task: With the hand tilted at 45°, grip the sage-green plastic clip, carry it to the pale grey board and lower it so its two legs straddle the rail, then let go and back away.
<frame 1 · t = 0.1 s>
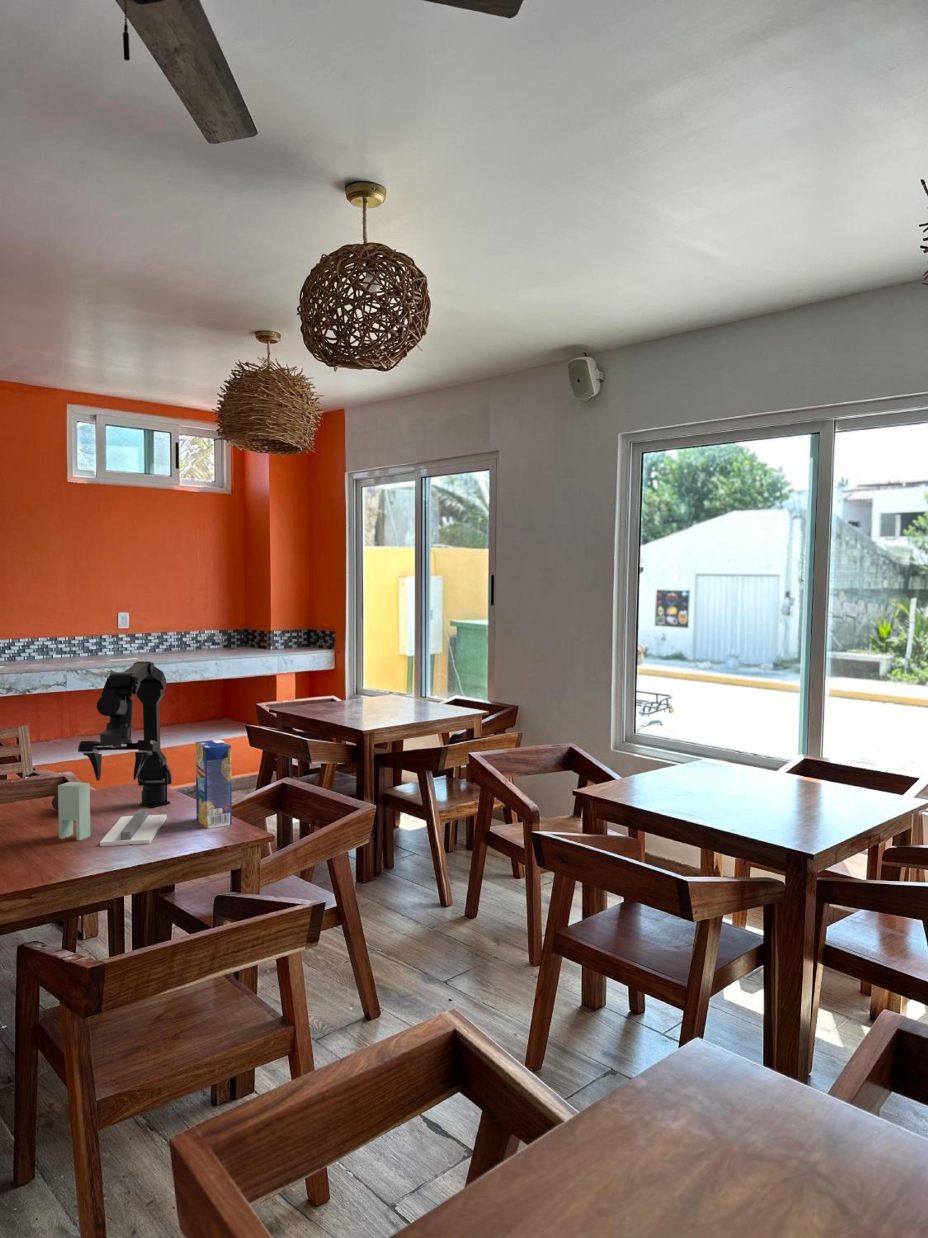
hand: (116, 780, 214), 15 cm above the table, tool pointing down, fingers open, 9 cm apart
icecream: (66, 812, 241), on the table
clip: (74, 837, 216), on the table
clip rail: (135, 831, 221), on the table
beverage box: (214, 822, 230), on the table
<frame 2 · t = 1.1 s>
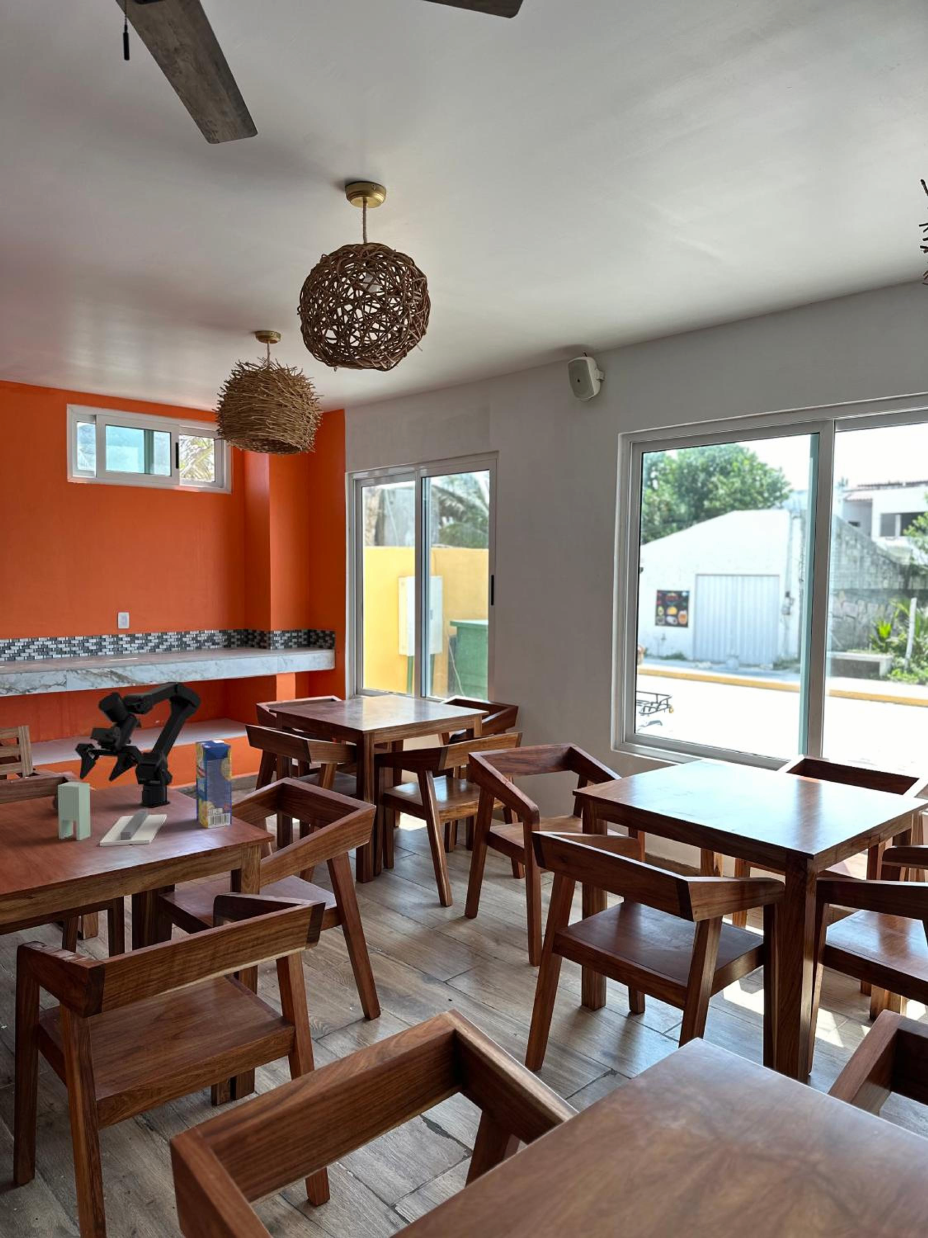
hand: (95, 779, 223), 13 cm above the table, tool tilted 45°, fingers open, 9 cm apart
nothing on the table moved.
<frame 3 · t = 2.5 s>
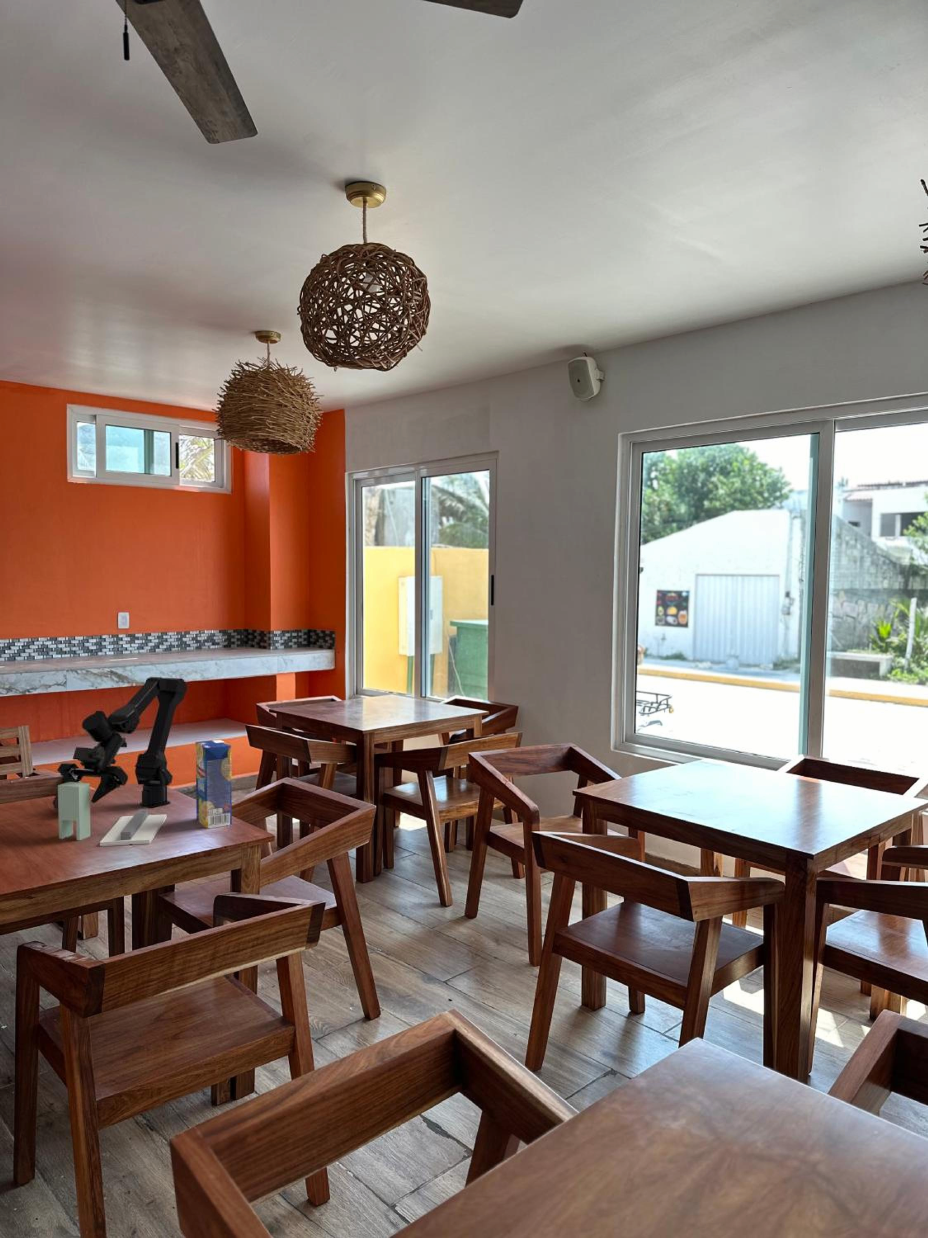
hand: (77, 801, 217), 9 cm above the table, tool tilted 45°, fingers open, 9 cm apart
nothing on the table moved.
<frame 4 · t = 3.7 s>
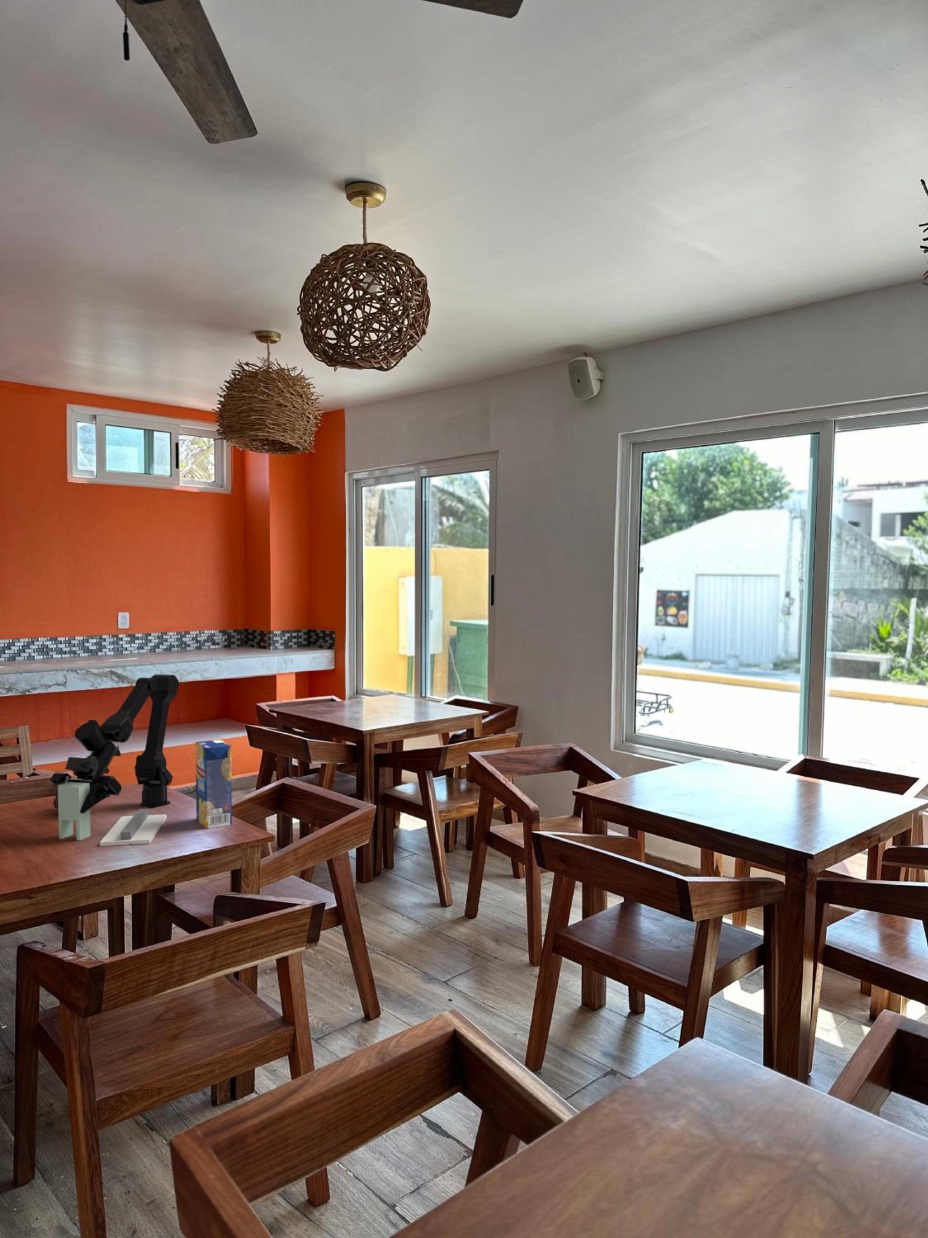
hand: (70, 811, 214), 7 cm above the table, tool tilted 45°, fingers closed on clip, 6 cm apart
clip: (74, 837, 216), on the table, touching gripper
everything else where it was.
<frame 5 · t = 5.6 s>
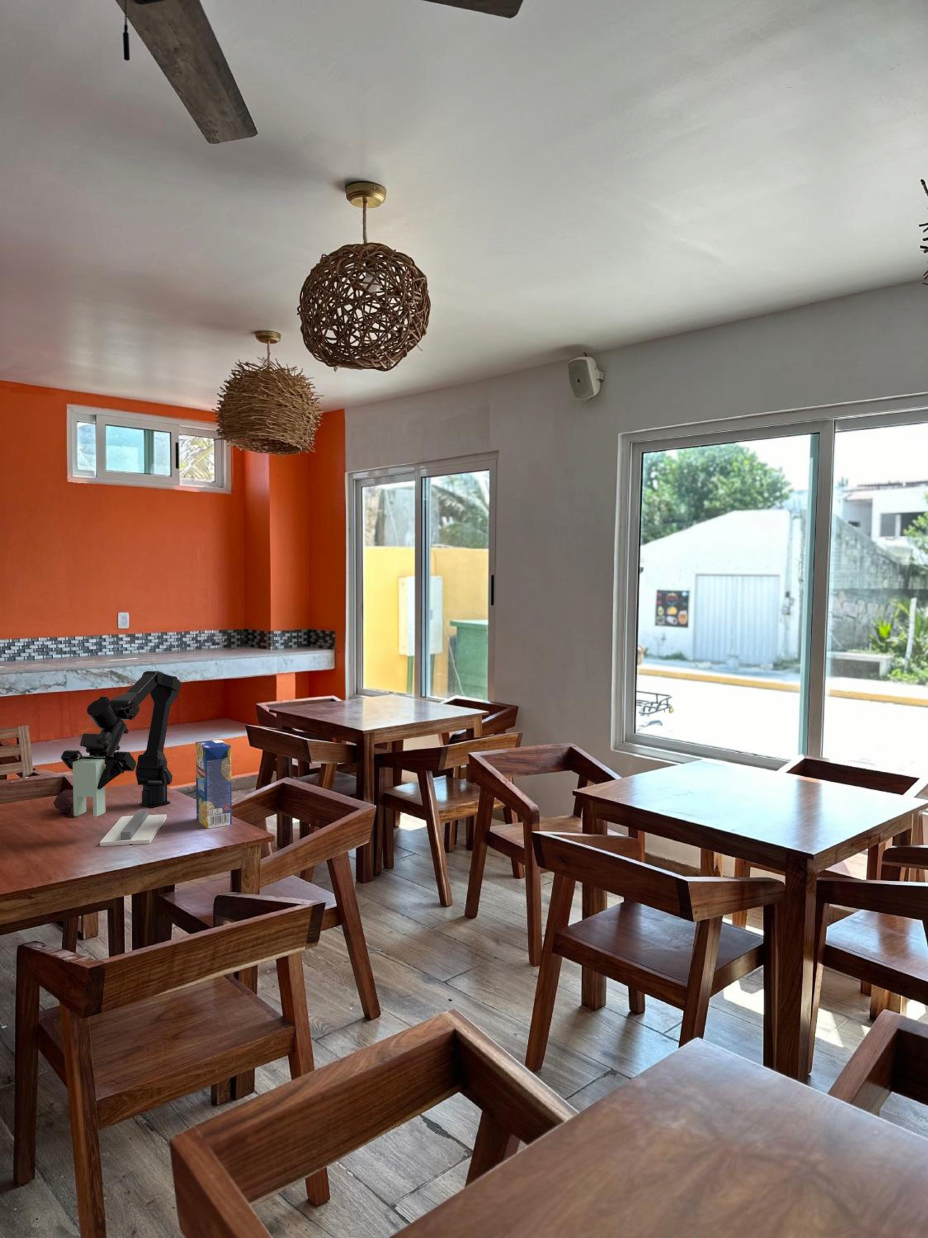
hand: (86, 788, 213), 13 cm above the table, tool tilted 45°, fingers closed on clip, 6 cm apart
clip: (89, 814, 215), point 6 cm above the table, touching gripper
when the fingers open (9 cm above the table, at t = 7.8 s): clip drops 1 cm, resting on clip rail.
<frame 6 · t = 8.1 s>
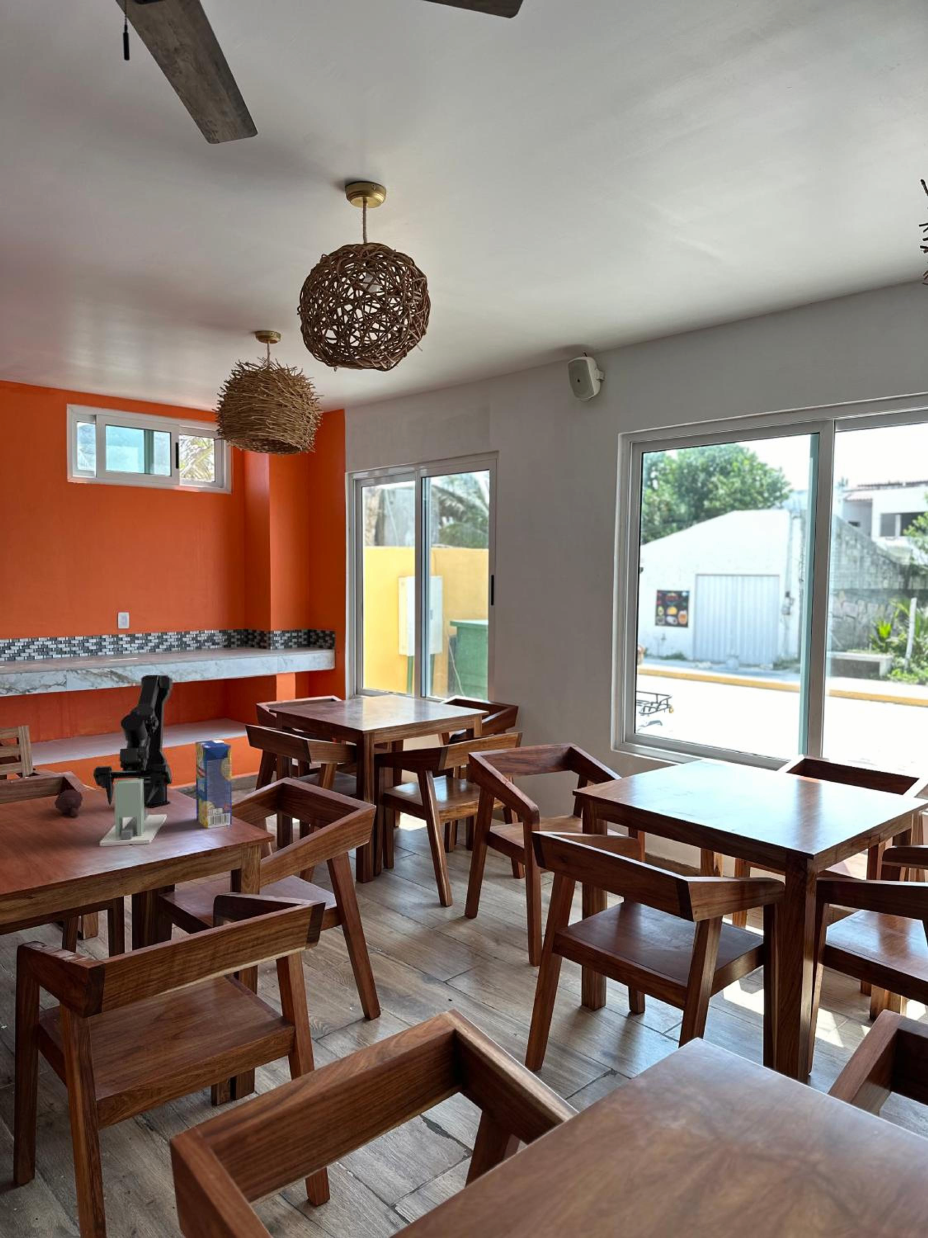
hand: (128, 803, 214), 10 cm above the table, tool tilted 45°, fingers open, 9 cm apart
clip: (130, 834, 215), point 1 cm above the table, touching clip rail
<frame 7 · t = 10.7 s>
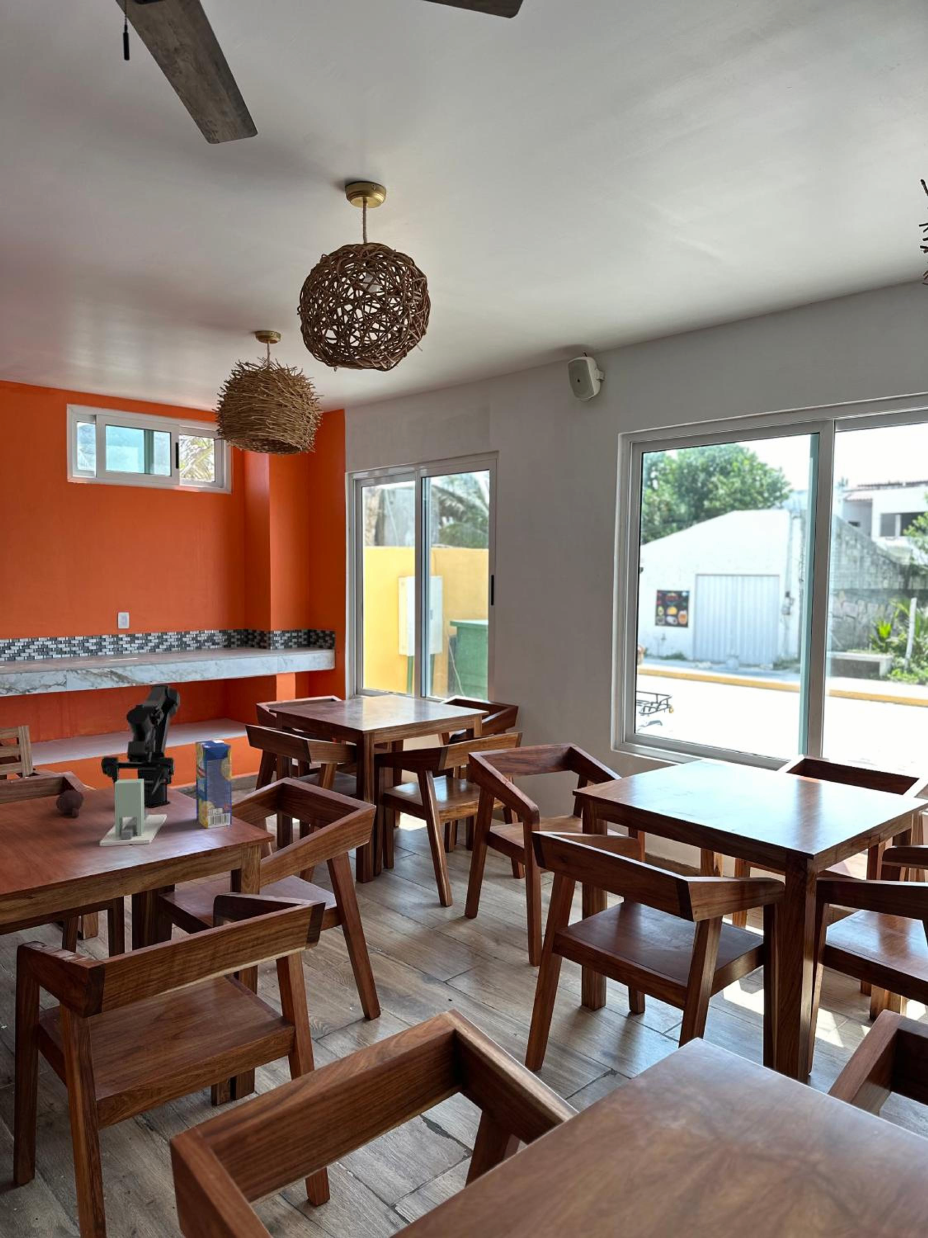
hand: (133, 793, 224), 10 cm above the table, tool tilted 40°, fingers open, 9 cm apart
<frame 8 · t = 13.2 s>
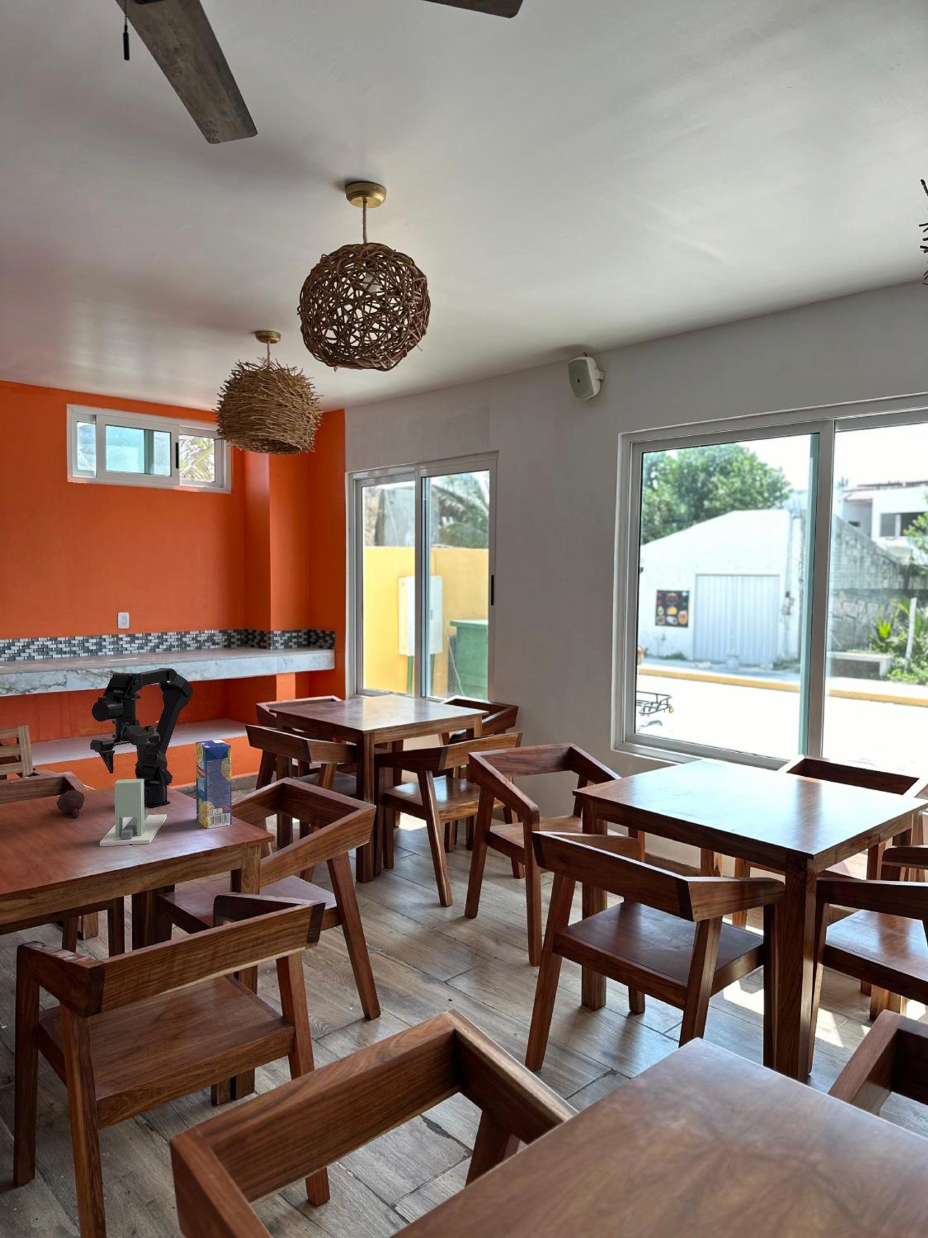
hand: (126, 770, 236), 13 cm above the table, tool pointing down, fingers open, 9 cm apart
at the end: clip 0.1 cm from the target spot on the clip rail, point 1.0 cm above the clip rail's base; clip tilted 0°; the gripper is holding nothing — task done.
